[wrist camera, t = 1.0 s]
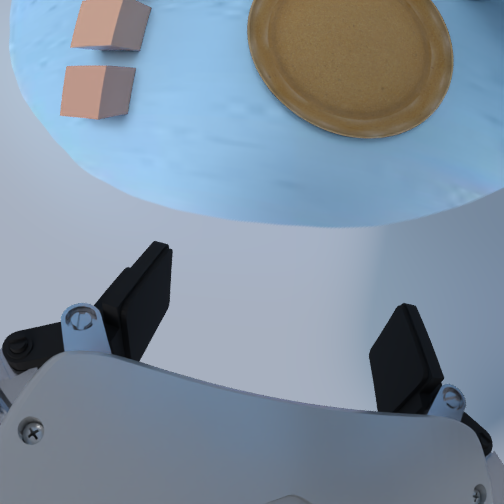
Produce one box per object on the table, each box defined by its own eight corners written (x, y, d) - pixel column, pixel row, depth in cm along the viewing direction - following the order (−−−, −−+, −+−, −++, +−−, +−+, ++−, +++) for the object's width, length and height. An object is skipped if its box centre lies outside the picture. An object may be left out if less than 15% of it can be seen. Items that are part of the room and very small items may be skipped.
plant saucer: (399, -44, 18) (407, -54, 16) (462, 117, 28) (474, 120, 25) (223, -10, 25) (216, -19, 22) (292, 157, 35) (291, 162, 32)
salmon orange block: (98, 66, 31) (66, 66, 25) (135, 68, 31) (106, 65, 25) (91, 109, 34) (60, 115, 28) (127, 113, 34) (97, 119, 28)
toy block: (112, 9, 27) (82, 1, 21) (151, 7, 27) (124, -5, 21) (101, 50, 30) (70, 47, 24) (139, 50, 30) (110, 45, 24)
